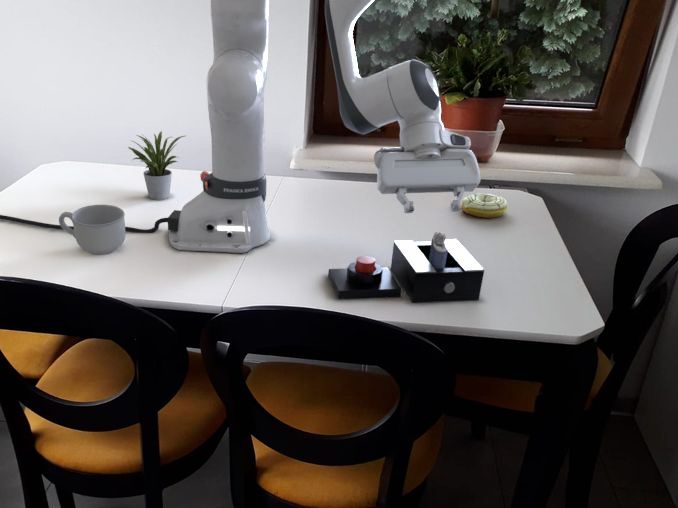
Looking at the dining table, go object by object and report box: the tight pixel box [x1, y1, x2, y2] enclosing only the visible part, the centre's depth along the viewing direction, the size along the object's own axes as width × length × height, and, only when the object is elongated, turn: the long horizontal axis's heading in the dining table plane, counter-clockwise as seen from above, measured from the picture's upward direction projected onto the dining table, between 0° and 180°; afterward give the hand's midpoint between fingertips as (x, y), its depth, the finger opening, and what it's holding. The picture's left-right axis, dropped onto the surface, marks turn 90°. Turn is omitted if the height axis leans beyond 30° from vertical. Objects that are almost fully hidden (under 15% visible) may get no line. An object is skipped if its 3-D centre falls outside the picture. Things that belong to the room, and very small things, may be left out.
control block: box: [327, 261, 402, 300], centre depth 135 cm, size 12×10×4 cm
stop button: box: [355, 255, 376, 273], centre depth 134 cm, size 4×4×2 cm
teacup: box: [58, 204, 126, 255], centre depth 148 cm, size 14×11×8 cm
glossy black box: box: [390, 238, 485, 304], centre depth 136 cm, size 14×16×6 cm
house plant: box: [127, 130, 186, 201], centre depth 176 cm, size 14×14×16 cm
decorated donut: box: [461, 192, 508, 219], centre depth 174 cm, size 10×11×4 cm
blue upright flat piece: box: [429, 231, 448, 269], centre depth 135 cm, size 9×3×11 cm, turn 172°
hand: (433, 211), depth 137 cm, fingers open, 8 cm apart
